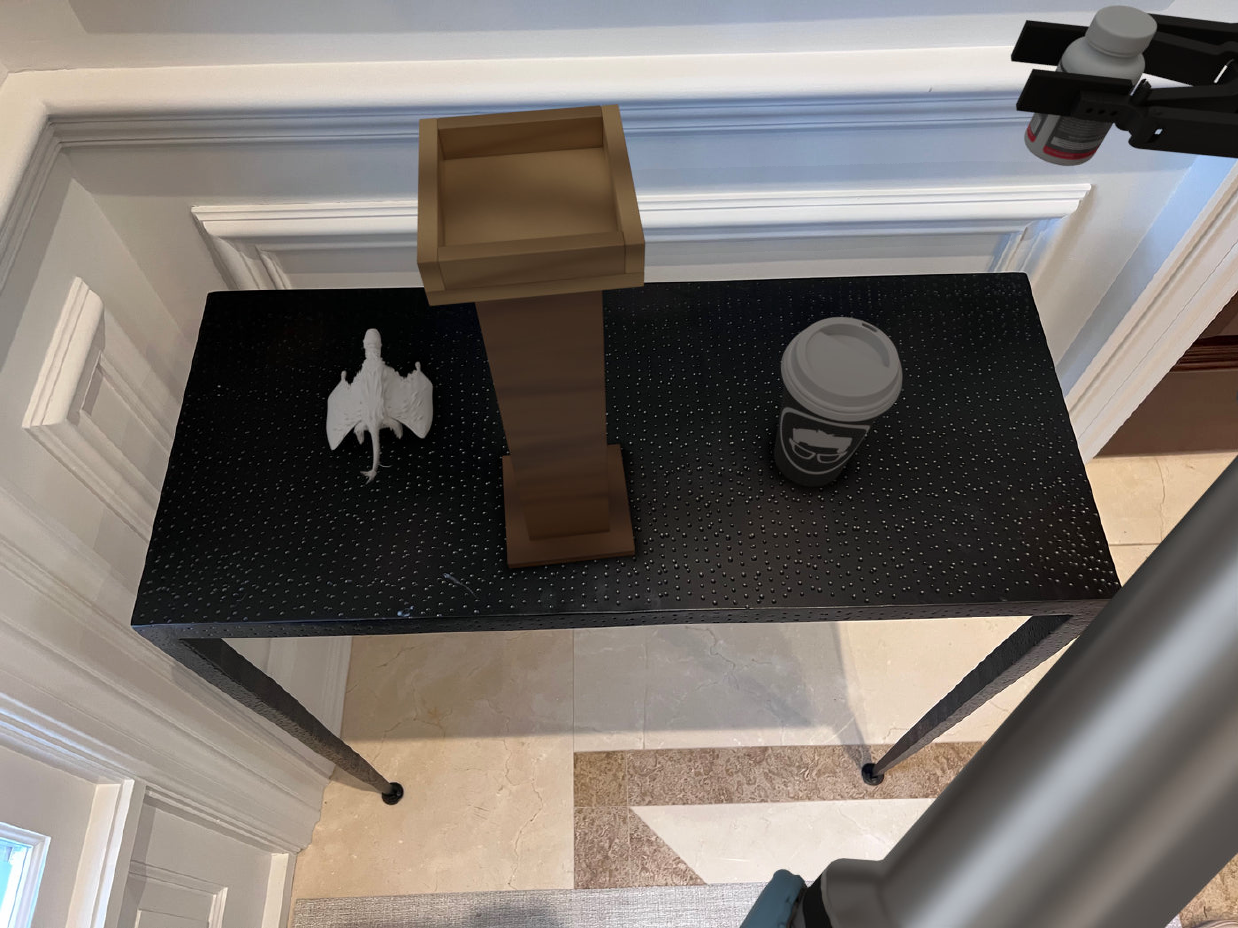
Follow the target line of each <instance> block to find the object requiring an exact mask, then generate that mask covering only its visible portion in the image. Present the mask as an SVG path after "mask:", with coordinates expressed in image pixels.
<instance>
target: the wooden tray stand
mask: <svg viewBox="0 0 1238 928" xmlns="http://www.w3.org/2000/svg"><path fill="white" fill-rule="evenodd" d="M417 161H418V165H417V172H418V173H417V221H416V222H417V225H416V226H417V227H416V232H417V233H416V265H417V268H418V273H419V275H420V278H421V282H422V285H423V288H424V289H423V290H424V292H425V295H426V298H427V301H428V305H429V306H430V307H433V306H442V305H443V306H444V305H454V304H464V303H474V304H475V308H476V309H475V310H476V312H477V313H476V314H477V317H478V321H479V326H480V330H481V331H480V332H481V335H482V339H483V343H484V348H485V352H486V357H487V360H488V365H489V369H490V374H491V378H492V383H493V388H494V391H495V396H496V400H497V405H498V409H499V413H500V417H501V421H502V426H503V430H504V435H505V439H506V443H507V448H508V452H509V453H508V454H509V455H502V457H501V459H502V478H503V499H504V518H505V535H506V537H505V538H506V554H507V557H506V558H507V566H508V569H520V568H528V567H529V568H530V567H538V566H547V565H556V564H565V563H573V562H582V561H590V560H591V561H593V560H601V559H608V558H618V557H626V556H627V557H628V556H634V555H636V547H635V540H634V533H633V532H634V531H633V526H632V519H631V512H630V505H629V497H628V491H627V483H626V476H625V470H624V463H623V455H622V450H621V449H622V448H621V444H620V443H617V444H608V436H607V405H606V403H607V402H606V401H607V399H606V372H605V339H604V336H605V335H604V333H605V332H604V306H603V305H604V304H603V300H604V299H603V291H606V290H608V291H609V290H618V289H629V288H639V287H644V286H645V269H646V267H645V266H646V265H645V264H646V238H645V234H644V228H643V224H642V219H641V214H640V207H639V203H638V202H639V201H638V197H637V192H636V188H635V187H636V186H635V183H634V182H635V181H634V177H633V171H632V167H631V162H630V156H629V151H628V147H627V140H626V137H625V132H624V127H623V122H622V115H621V111H620V106H619V104H618V103H612V104H602V105H600V104H599V105H597V104H595V105H583V106H571V107H560V108H547V109H533V110H520V111H508V112H496V113H481V114H469V115H457V116H444V117H443V116H442V117H430V118H429V117H428V118H419V119H418V160H417Z"/></svg>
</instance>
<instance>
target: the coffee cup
mask: <svg viewBox="0 0 1238 928" xmlns="http://www.w3.org/2000/svg"><path fill="white" fill-rule="evenodd" d="M780 362H781V363H780V372H781V377H782V380H783V389H782V397H781V401H780V402H781V403H780V410H779V416H778V423H777V429H776V430H777V431H776V436H775V442H774V449H773V459H774V462H775V464H776V467H777V468H778V470H779V471H780V473H781V474H782V475H783V476H784V477H785V478H787V479H788V480H789V481H791V482H792V483H795V484H797V485H799V486H800V485H801V486H804V487H811V488H813V487H822V486H826V485H828V484H830V483H832V482H833V481H835V480H836V479H837V478H838V477H839V476H840V474H841V473H842V471H843V470H844V469H845V467H846V465H847V464H848V462H849V461H850V459H851V458H852V456H853V454H854V453H855V452H856V450H857V449H858V447H859V446H860V444H861V443H862V441H863V440H864V438H865V437H866V435H867V434H868V432H869V431H870V429H871V428H872V426H873V425H874V424H875V422H876V420H877V419H878V417H879V416H880V415H881V414H883V413H885V412H887V411H888V410H889V409H890V408H891V407H892V406H893V405H894V404H895V402H896V401H897V400H898V398H899V396H900V393H901V391H902V387H903V369H902V364H901V360H900V357H899V354H898V350H897V348H896V346H895V344H894V343H893V341H892V340H891V339H890V338H889V336H888V335H887V334H886V333H884V331H882V330H881V329H879V328H878V327H877V326H875V325H873V324H871V323H869V322H867V321H864V320H862V319H858V318H855V317H854V318H853V317H847V316H846V317H845V316H836V317H828V318H824V319H820V320H818V321H816V322H814V323H812V324H810V325H809V326H808V327H806V328H805V329H803V330H802V331H800V332H799V333H798V334H797V335H796V336H795V337H794V338H793V339H792V340H791V341H790V342H789V344H787V346H786V348H785V350H784V352H783V354H782V357H781V361H780Z"/></svg>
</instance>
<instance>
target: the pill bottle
mask: <svg viewBox="0 0 1238 928" xmlns="http://www.w3.org/2000/svg"><path fill="white" fill-rule="evenodd" d="M1147 13H1148V12H1146V11H1144V10H1141V9H1139V8H1136V7H1133V6H1127V5H1119V4H1118V5H1109V6H1105V7H1102V8H1101V9H1099V10H1098V11H1096V13H1095V15H1094V16H1093V18H1092V20H1091V22H1090V24H1089V28H1088V30H1087V32H1086V34H1085V37H1082V38H1079V39H1077V40H1076V41H1074V42H1073V43H1071V44H1070V45H1069V46H1068V48H1067V49H1066V51H1065V52H1064V54H1063V56H1062V58H1061V60H1060V62H1059V64H1058V66H1056V68H1055V70H1054V71H1058V72H1068V73H1077V74H1086V75H1095V76H1104V77H1113V78H1122V79H1131V80H1132V84H1133V87H1132V89H1131V90H1130V92H1129V94H1128V95H1132V94H1133V92H1134V91H1135V89H1136V88H1137V86H1138V84H1139V83H1140V81H1141V79H1142V76H1143V74H1144V73H1143V72H1144V69H1145V61H1144V57H1143V55H1142V52H1144V50H1145V49H1146V48H1147V47H1148V46H1149V43H1150V41H1151V39H1152V37H1153V36H1154V34H1155V32H1156V29H1157V24H1156V22H1155V20H1154V19H1153V18H1152V17H1151V16H1150V15H1149V14H1147ZM1113 124H1114V123H1107V122H1098V121H1095V120H1094V121H1090V120H1081V119H1077V118H1074V117H1067V116H1058V115H1049V114H1041V113H1033V115H1032V116H1031V118H1030V121H1029V123H1028V126H1027V127H1026V130H1025V132H1024V135H1023V139H1024V140H1023V141H1024V144H1025V146H1026V148H1027V150H1028V151H1029V152H1030V153H1031V154H1032V155H1033V156H1035V157H1036V158H1039V159H1040V160H1042V161H1044V162H1045V163H1050V164H1052V165H1055V166H1056V165H1057V166H1061V167H1062V166H1063V167H1074V166H1080V165H1083V164H1085V163H1087V162H1090V160H1091V159H1092V158H1093V157H1094V156H1095V155H1096V153H1097V151H1098V150H1099V148H1100V147H1101V145H1102V143H1103V142H1104V141H1105V138H1106V136H1107V135H1108V133H1109V131H1110V130H1111V128H1112V127H1113Z"/></svg>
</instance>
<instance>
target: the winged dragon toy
mask: <svg viewBox="0 0 1238 928" xmlns="http://www.w3.org/2000/svg"><path fill="white" fill-rule="evenodd" d="M381 338H382V337H381V334H380V332H379V331H378V329H376V328H369V329H367V331H366V332H365V335H364V339H363V340H362V343H363V349H365V350H364V352H365V353H364V355H365V358H366V359H365V360H363V363H361V366H362V367H361V369H359V371H358V372H356V376H354V377H353V381H352V382H351V383H348V381H347V380H346V378H347V371H346V370H343V371H342V372H341V374H340V376H341V379H340V381H339V383H338V384H337V385H336V387H335V388H334V389H333V390H332V392H331V393H330V394H329V396H328V399H327V414H326V415H327V417H326V435H327V441H328V443H329V447H330V449H331V451H333V450H335V449H336V448H338V447H339V445H340V444H341V443H342V441H343V440H344V438H345V437H346V436H347V435H348V433H349V432H350V431H351V430H352V429H353V428H354V430H353V434H355V435H356V438H357V440H358V442H359V445H362V443H364V441H365V431H368V432H369V433H370V436H371V440H372V449H373V463H372V469H370V470H368V471H361V474H364V476H368V477H369V479H368V480H367V482H366V483H365V485H367V484H368V483H370V482H372V481H373V479H374V478H375V476H376V475H377V470H378V467H379V465H380V463H381V462H380V457H381V456H380V455H381V452H382V451H381V446H380V445H381V443H380V436H379V435H380V430H382V429H386V428H390V430H393V432H394V435H396V438H398V439H399V440H401V438H402V437H403V435H404V430H403V425H405V426H406V427H407V428H408V429H410V430H411V431H412V432H413V433H414V434H415V435H416V436H417V437H419V438H420V439H425V438H426V436H427V435H428V433H429V431H430V429H431V426H432V422H433V417H434V416H433V415H434V405H433V389H434V386H433V384H432V382H431V380H429V378H428V377H427V376H426V375H425V374H424V372H422V371H421V363H420V361H416V362H415V368H416V369H413V371H412V372H411V373H410V372H408V373H407V377H404V376H401V375H400V373H399V372H398V371H395V369H394V368H393V367H392V366H390V367H389V366H388V365H387V364H386V361H384V359H383V357H381V352H382V351H381V350H382V349H381V348H382V346H383V343H382V339H381Z"/></svg>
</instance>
